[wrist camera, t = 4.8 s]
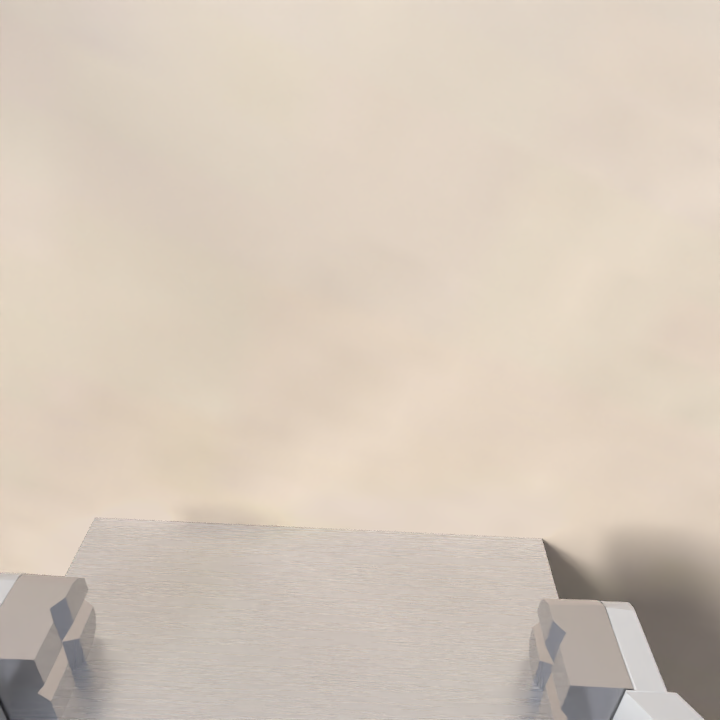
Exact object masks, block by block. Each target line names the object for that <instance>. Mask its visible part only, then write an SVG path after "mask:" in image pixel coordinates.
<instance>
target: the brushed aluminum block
mask: <svg viewBox="0 0 720 720" xmlns="http://www.w3.org/2000/svg"><path fill="white" fill-rule="evenodd" d="M65 576H66V577H80V578H84V579H85V581H86V584H87V587H88V592H87V594H86V597H85V600H86V601H87V602H89V603H90V604H91V605H93V607H94V610H95V614H96V630H95V635H94V640H93V645H92V647H91V650H90V652H89V655H88V657H87V659H86V661H85V662H84V663H82V664H81V665H80V666H79V667H77V668H76V669H75V670H74V671H73V672H72V674H73V677H74V681H75V684H76V685H75V688H74V690H73V692H72V695H71V697H70V699H69V702H68V704H67V706H66V709H65V711H64V713H63V716H62V718H61V720H542V719H541V715H540V710H539V705H540V702H541V698H542V695H543V692H542V690H541V689H540V688H539V687H538V686H537V685H536V684H535V683H534V682H533V677H532V672H531V668H530V659H529V639H530V635H531V631H532V627H533V626H535V625H536V624H537V623H539V622H540V621H539V617H538V613H537V610H538V607H539V604H540V601H541V600H542V599H543V598H550V599H559V597H558V594H557V590H556V587H555V583H554V580H553V576H552V573H551V569H550V565H549V562H548V558H547V555H546V551H545V548H544V544H543V540H542V539H540V538H519V537H497V536H476V535H455V534H434V533H412V532H391V531H370V530H349V529H327V528H306V527H285V526H264V525H242V524H221V523H200V522H179V521H157V520H136V519H115V518H95V519H94V521H93V522H92V524H91V526H90V528H89V530H88V532H87V534H86V536H85V538H84V540H83V542H82V544H81V546H80V548H79V550H78V551H77V553H76V555H75V557H74V559H73V561H72V563H71V565H70V567H69V569H68V571H67V573H66V575H65Z"/></svg>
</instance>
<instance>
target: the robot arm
mask: <svg viewBox="0 0 720 720" xmlns="http://www.w3.org/2000/svg"><path fill="white" fill-rule="evenodd" d="M87 592H88V587H87V584H86V581H85V579H84V578H80V577H66V576H51V575H37V574H24V573H5V572H0V720H61V718H62V716H63V713H64V711H65V709H66V706H67V704H68V702H69V699H70V697H71V695H72V692H73V690H74V688H75V685H76V684H75V681H74V677H73V674H72V672H73V671H74V670H75V669H76V668H77V667H79V666H80V665H81V664H82V663H84V662H85V661H86V659H87V657H88V655H89V652H90V650H91V647H92V645H93V640H94V635H95V630H96V614H95V610H94V607H93V605H91V604H90V603H89V602H87V601H86V600H85V597H86V594H87ZM537 613H538V617H539V621H540V622H539V623H537V624H536V625H535V626H533V627H532V631H531V635H530V639H529V659H530V668H531V672H532V677H533V682H534V683H535V684H536V685H537V686H538V687H539V688H540V689H541V690H542V692H543V695H542V698H541V702H540V705H539V710H540V715H541V719H542V720H705V719H704V718H703V717H702V716H700V715H699V714H698V713H697V712H696V711H695V710H694V709H693V708H692V707H691V706H690V705H689V704H688V703H687V702H686V701H685V700H684V699H683V698H682V697H681V696H680V695H679V694H677V693H675V692H668V691H667V689H666V686H665V684H664V681H663V679H662V676H661V674H660V671H659V669H658V666H657V664H656V661H655V659H654V656H653V654H652V651H651V649H650V646H649V644H648V641H647V639H646V636H645V634H644V631H643V629H642V626H641V624H640V621H639V619H638V616H637V614H636V611H635V609H634V607H633V606H632V605H631V604H630V603H629V602H614V601H598V600H581V599H550V598H543V599H542V600H541V601H540V604H539V607H538V610H537Z"/></svg>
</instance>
